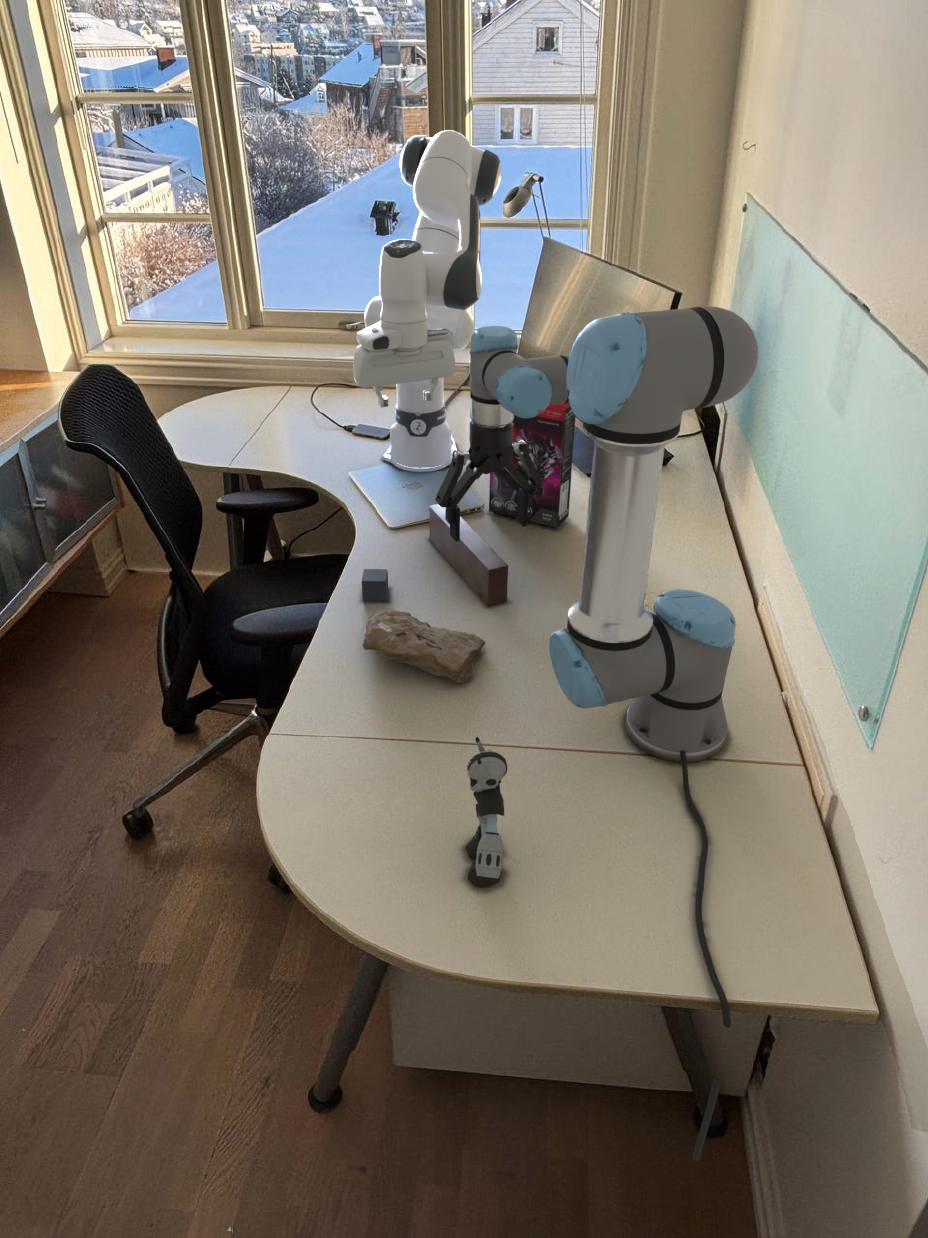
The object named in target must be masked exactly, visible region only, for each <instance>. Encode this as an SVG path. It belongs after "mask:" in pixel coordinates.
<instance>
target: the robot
mask: <svg viewBox="0 0 928 1238" xmlns="http://www.w3.org/2000/svg"><path fill="white" fill-rule="evenodd" d="M474 740H475V743H476V746H477V748H478V750H479V751H478V752H477V753H475V755H473V756H472V757H471V758H470V759H469V761H468V762H467V765H466V770H467V776H468V779H469V781H470V782H469V789H470V791H472V792H473V793H472V794H473V796H474V799H475V801H476V804H475V814H476V819H477V820H478V827H477V828H476V831H475V833H474V835H473V836H472V838H471V839H470V841H469V842H468V843H467V845H466V847H465V851H466V853H467V855H468V857H469V858H470V859H472V860H474V861H473V862H472V864H471V866H470V868H469V871H468V874H467V877H466V878H467V879H468V880H469V882H470V883H472V885H473V886H476V887H479V888H486V887H491V886H492V885H494V884H496V883H498V882H500V880H501V877H502V873H503V872H502V867H503V866H502V865H503V859H504V849H505V847H504V843H503V838H502V836H501V835H500V833H498V825H497V824H498V816H501V817H504V816H505V804H504V803H505V801H504V797H503V795H502V793H501V785H500V784H501V783H502V779H503V778H504V777H506V775H507V773H508V762H507V759H506V758H505V757H504V756H503V755H502V754H501V753H499V752H497V751H495V750H492V749H485V747H484V745H483V743H482V741H481V739H480V738H479V736H476V737H475V739H474Z"/></svg>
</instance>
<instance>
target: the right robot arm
mask: <svg viewBox="0 0 928 1238" xmlns="http://www.w3.org/2000/svg"><path fill="white" fill-rule="evenodd" d="M518 349H519V345H518V335H517V332H516V331H515V330H514V329H512V328H510V327H507V326H502V325H486V326H481V327H478V328H476V329H474V332H473V334H472V338H471V341H470V350H469V355H470V358H469V359H470V361H469V362H470V363H469V364H470V377H469V380H470V381H469V382H470V383H469V384H470V385H469V419H470V421H469V437H468V438H469V439H468V440H469V447H468V448H469V449H468V450H467V451H463V452H460V451H459V450H458V449H457V450H455V451H453V453H452V461H451V464H450V465H449V466H448V469H447V471H446V474H445V476H444V478H443V480H442V482H441V484H440V486H439V489H438V490H437V493H436V495H435V498H434V501H435V502H436V503H437V504H439V505H440V506H441V507H442V508H444V507H445V519H446V521H447V522H448V523H449V524H450V536H451V537H452V538H453V539H454V540H455V541H460V516H461V508H460V506H458V505H459V503H460V502H461V500H462V499H463V498H464V497H465V495H466V494H467V493H468V491H469V489H470V488H471V487H472V485H473V484H475V481H477V480H479V479H480V478H481V477H482V475H483V474H484V475H490V473H491V472H500V471H501V470H502V469H503V468H505V469H506V470H507V471H508V472H509V473H510V474H511V475H512V476H513V478H514V479H515V480H516V481H517V482H518V483H519V484H520V485H521V486H522V487H523V489H522V488H521V489H518V498H517V518H516V522H517V523H518V524H519V525H520V526H521V527H522V528H524V527H525V528H526V527H527V526H528V520H527V513H528V508H530V507H531V505H532V495H534V494H535V493H536V490H535V489H536V488H541V487H542V486H543V483H542V481H541V479H540V477H539V475H538V472H537V470H536V468H535V466H534V464H533V462H532V459H531V457H530V455H529V445H528V444H527V443H526V442H524V441H523V440H522V439H518V440H517V442H516V443H513V444H512V442H513V427H514V424H513V422H512V421H513V420H514V415H516V416H518V417H520V418H532V417H535V416H536V415H538V414H539V413H541V412H543V411H544V410H545V409H546V408H547V406H551V405H558V404H566V403H570V406H571V408H572V410H573V413H574V414H575V415H576V417H575V418H576V419H578V420H579V421H581V422H582V429H583V432H584V433H586V434H587V436H588V437H589V438H590V439H591V440H592V441H593V443H592V444H593V445H592V446H593V447H592V458H591V470H590V479H589V492H588V504H587V516H586V527H585V539H584V540H585V541H584V549H583V562H582V563H583V564H582V574H581V586H580V597H579V600H578V599H577V601H575V602H574V603H573V604H571V606H570V607H569V608H568V612H567V622H566V627H565V628H558V629H557V630H555V631H553V632H552V633H551V634H550V635H549V641H548V650H549V657H550V662H551V665H552V670H553V673H554V675H555V678H556V680H557V683H558V685H559V687H560V689H561V691H562V692H563V694H564V696H565V697H566V698H567V700H568V701H569V702H570V703H571V705H574V706H575V707H576V708H579V709H591V708H597V707H602V708H604V707H606V706H607V705H612V704H615V703H619V702H624V701H627V700H632V701H631V702H630V704H629V705H628V707H627V711H626V719H625V728H626V732H627V734H628V736H629V738H630V739H631V741H632V742H634V744H636V745H637V746H638V747H639V748H640V749H641V750H643V751H645V752H646V753H648V754H650V755H651V756H654V757H656V758H659V759H662V760H666V761H670V762H675V763H680V766H681V773H682V787H683V793H684V797H685V801H686V804H687V806H688V808H689V810H690V812H691V813H692V815H693V818H694V819H695V822H696V823H697V826H698V828H699V831H700V836H701V849H700V851H701V852H700V857H699V862H698V863H699V864H698V870H697V871H698V872H697V884H696V892H695V903H694V917H695V925H696V931H697V937H698V940H699V944H700V948H701V952H702V955H703V959H704V962H705V965H706V969H707V972H708V975H709V978H710V981H711V983H712V985H713V988H714V990H715V992H716V994H717V996H718V999H719V1002H720V1006H721V1013H722V1024H723V1026H724V1027H725V1028H731V1026H732V1024H731V1023H732V1021H731V1013H730V1012H731V1011H730V1007H729V1002H728V998H727V996H726V993H725V990H724V988H723V986H722V984H721V982H720V980H719V977H718V974H717V972H716V968H715V965H714V961H713V959H712V956H711V953H710V950H709V946H708V942H707V938H706V935H705V928H704V922H703V896H704V887H705V879H706V878H705V877H706V876H705V875H706V865H707V858H708V852H709V851H708V850H709V839H708V832H707V827H706V825H705V822H704V820H703V818H702V816H701V814H700V812H699V811H698V809H697V807H696V805H695V803H694V801H693V798H692V795H691V791H690V783H689V781H690V780H689V769H688V763H694V762H700V761H703V760H706V759H709V758H711V757H714V755H716V754H718V752H720V751H721V750H722V748H723V747H724V744H725V743H726V740H727V739H726V738H727V734H728V721H727V716H726V712H725V708H724V707H725V706H724V701H723V692H724V686H725V682H726V678H727V672H728V668H729V664H730V659H731V654H732V651H733V647H734V645H735V642H736V640H735V634H736V633H735V632H736V627H737V626H736V617H735V616H734V614H733V612H732V611H731V609H730V608H729V607H728V606H727V605H726V604H724V603H723V602H722V601H720V600H719V599H717V598H715V597H713V596H710V595H709V594H706V593H703V592H699V591H696V590H692V589H683V588H680V589H676V588H675V589H668V590H666V591H663V592H661V593H660V594H659V595H658V597H656V599H655V601H654V602H653V610H649V609H648V608H647V607H646V606H645V600H646V592H647V585H648V578H649V577H648V576H649V569H650V563H651V555H652V546H653V538H654V532H655V523H656V518H657V517H656V515H657V508H658V501H659V493H660V485H661V477H662V470H663V462H664V455H665V448H666V447H667V446H668V445H669V444H670V443H671V442H673V441H674V440H676V439H677V438H678V437H679V435H680V432H681V426H682V425H681V424H682V418H683V412H686V411H689V410H696V409H703V408H708V407H713V406H717V405H720V404H723V403H725V402H727V401H729V400H731V399H733V398H734V397H735V396H737V395H738V394H739V393H740V392H742V391H743V389H744V388H745V387H746V386H747V385H749V383H750V381H751V379H752V378H753V376H754V374H755V371H756V369H757V365H758V360H759V347H758V341H757V337H756V335H755V332H754V331H753V329H752V328H751V326H750V325H749V323H747V321H746V320H745V319H743V317H741V316H740V315H739V314H737V313H736V312H734V311H731V310H729V309H727V308H722V307H719V306H709V305H708V306H707V305H706V306H705V305H701V306H700V305H699V306H692V307H687V308H686V307H685V308H676V309H666V310H665V309H663V310H654V311H652V310H651V311H641V312H630V311H625V312H621V313H619V314H615V315H610V316H604V317H599V318H596V319H593V320H591V322H589V323H588V324H586V325H585V326H584V328H583V329H582V330H581V331H580V332H579V333H578V335H577V337H576V339H575V340H574V342H573V345H572V347H571V350H570V353H569V354H559V355H547V356H541V357H531V358H524V357H522V356H521V355H520V354H518ZM514 451H515V452H516V453H517V454H518V455H519V458H520V460H521V462H522V464H523V466H524V468H525V470H526V472H527V474H528V477H529V479H530V481H527V480H526V479H525V478H524V477H523V476H522V475H521V474H520V473H519V472H518V471H517V469H516V468H515V467H514V466H513V465H512V464H511V463H510V462H509V459H510V458H511V456H512V454H513V453H514ZM467 461H469V462H468V463H467ZM464 466H466V467H465V470H464ZM463 470H464V472H463ZM462 472H463V473H462ZM461 474H462V475H461ZM721 1082H722V1079H720V1078H716V1077H713V1080H712V1084H711V1088H710V1093H709V1096H708V1101H707V1105H706V1108H705V1112H704V1115H703V1119H702V1122H701V1125H700V1128H699V1131H698V1135H697V1138H696V1142H695V1146H694V1150H693V1153H692V1160H693V1161H694V1162H696V1163H697V1162H699V1161H700V1159H701V1158H700V1157H701V1155H702V1152H703V1151H702V1150H703V1147H704V1143H705V1140H706V1137H707V1133H708V1130H709V1127H710V1124H711V1120H712V1117H713V1114H714V1110H715V1106H716V1103H717V1099H718V1095H719V1091H720V1088H721V1087H720V1086H721Z"/></svg>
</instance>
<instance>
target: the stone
mask: <svg viewBox="0 0 928 1238" xmlns="http://www.w3.org/2000/svg"><path fill="white" fill-rule="evenodd" d="M366 623H367V624H366V625H365V629H366V632H365V634H364V638H363V642H362V648H363V649H364V650H365V651H368V650H370V651H377V652H379V653H380V654H382V656H383V657H384V658H386V659H388V660H389V659H390V660H395V661H396V662H397V663H403V664H408V665H410V666H413V667H415V668H417V669H420V670H421V671H426V672H427V673H429V674H431V675H433V676H437V677H446V678H449V679H450V680H452V681H453V682H454V683H459V684H464V683H467V681H468V680H469V679H470V676H471V675H472V672H473V670H474V669H473V668H474V667H473V666H474V664H475V662H476V661H477V658H478V656H479V654H480V653H481V651H482V648H483V647H484V646H485V645H486V641H485V640H484V639H483V638H481V637H480V636H477V635H476V634H474V633H470V632H465V631H464V632H463V631H457V630H451V629H448V628H446V627H434V626H431V625H430V623H428V622H426V621H421V620H420V619H419V618H418V617H416V616H413V615H412V613H410V612H405V611H400V610H387V609H386V610H382V611H380V612H377V613H376V614H374V615H373V616H371V617H369V618H368V620H367V622H366Z"/></svg>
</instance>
